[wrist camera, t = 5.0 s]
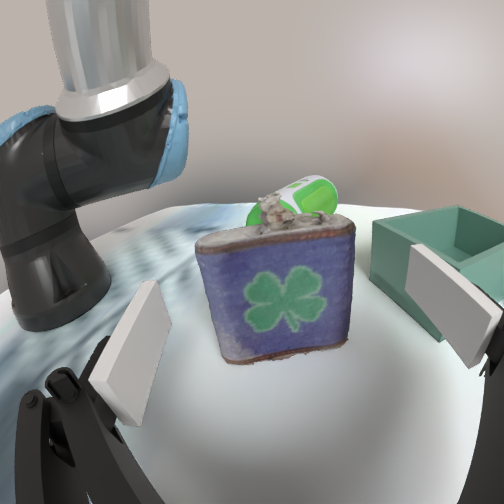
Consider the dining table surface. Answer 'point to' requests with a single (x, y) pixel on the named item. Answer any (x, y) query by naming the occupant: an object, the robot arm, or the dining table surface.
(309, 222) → the flask
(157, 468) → the dining table surface
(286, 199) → the speaker
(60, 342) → the dining table surface
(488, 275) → the open box
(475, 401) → the dining table surface
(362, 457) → the dining table surface
